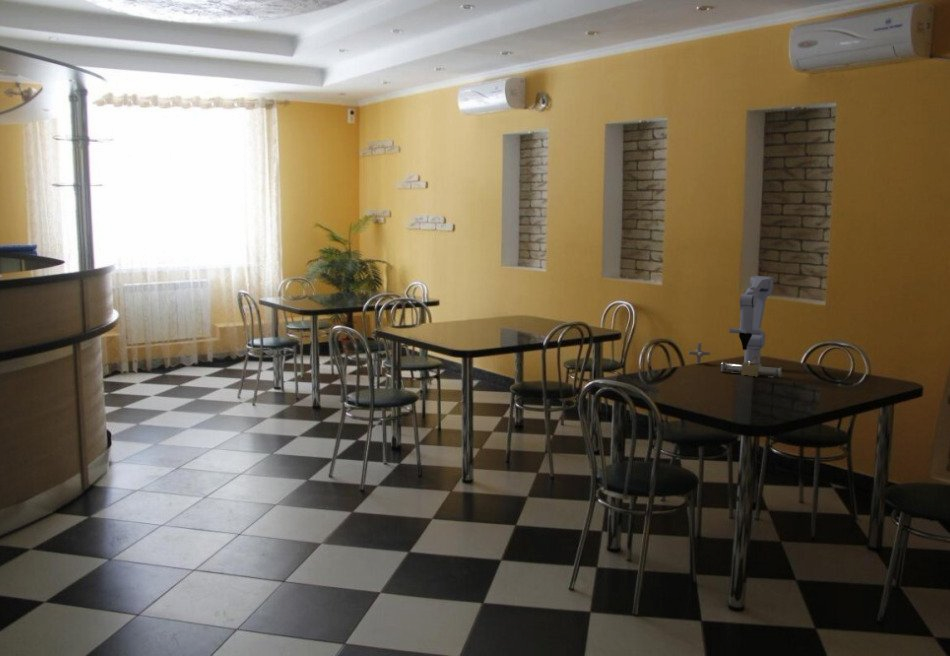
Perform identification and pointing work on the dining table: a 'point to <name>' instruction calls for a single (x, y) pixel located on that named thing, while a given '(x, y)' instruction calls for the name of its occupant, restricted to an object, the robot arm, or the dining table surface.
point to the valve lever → (753, 360)
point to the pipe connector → (699, 353)
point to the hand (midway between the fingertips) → (744, 349)
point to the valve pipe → (751, 369)
